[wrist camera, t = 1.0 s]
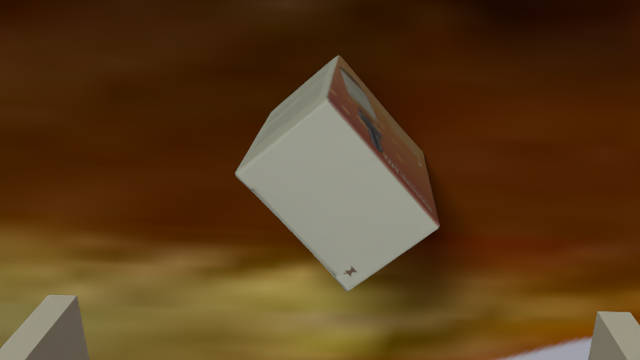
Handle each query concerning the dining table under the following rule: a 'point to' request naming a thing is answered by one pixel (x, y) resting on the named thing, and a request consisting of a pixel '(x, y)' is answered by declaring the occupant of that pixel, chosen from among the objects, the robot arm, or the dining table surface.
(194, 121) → the dining table surface
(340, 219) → the small box
